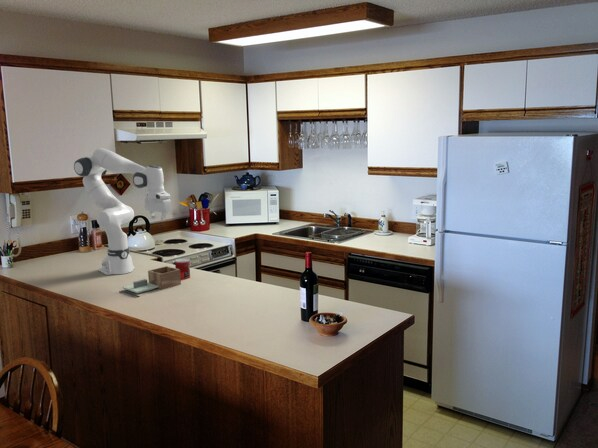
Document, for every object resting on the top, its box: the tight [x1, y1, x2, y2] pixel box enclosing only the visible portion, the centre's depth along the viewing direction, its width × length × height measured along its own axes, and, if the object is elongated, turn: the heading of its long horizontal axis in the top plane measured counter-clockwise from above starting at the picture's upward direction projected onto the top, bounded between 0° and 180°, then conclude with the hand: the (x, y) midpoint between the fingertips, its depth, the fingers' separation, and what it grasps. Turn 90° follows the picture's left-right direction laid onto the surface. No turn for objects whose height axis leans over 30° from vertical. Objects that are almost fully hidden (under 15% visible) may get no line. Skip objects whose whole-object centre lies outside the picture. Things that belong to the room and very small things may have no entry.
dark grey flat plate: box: [118, 290, 141, 298], centre depth 288 cm, size 16×16×1 cm
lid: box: [122, 278, 158, 294], centre depth 287 cm, size 13×13×5 cm
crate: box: [147, 265, 182, 290], centre depth 294 cm, size 12×12×9 cm
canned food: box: [174, 258, 191, 280], centre depth 308 cm, size 8×8×11 cm
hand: (158, 219), depth 304 cm, fingers open, 8 cm apart
